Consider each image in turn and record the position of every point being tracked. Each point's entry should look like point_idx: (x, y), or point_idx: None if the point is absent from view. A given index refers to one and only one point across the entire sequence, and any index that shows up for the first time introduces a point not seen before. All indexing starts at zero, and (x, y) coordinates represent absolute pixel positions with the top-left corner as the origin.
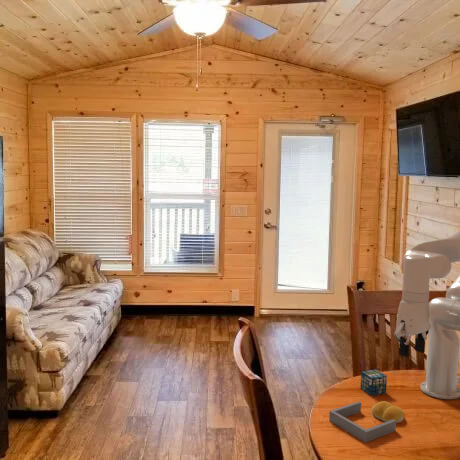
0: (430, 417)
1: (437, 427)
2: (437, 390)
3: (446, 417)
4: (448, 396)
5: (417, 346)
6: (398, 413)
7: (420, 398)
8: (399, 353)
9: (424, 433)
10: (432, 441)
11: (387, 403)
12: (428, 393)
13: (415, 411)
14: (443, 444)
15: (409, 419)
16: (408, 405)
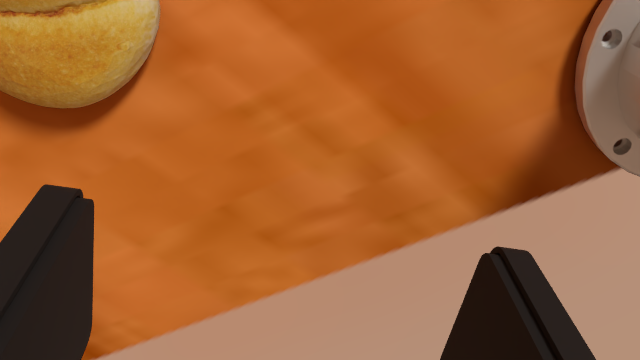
0: (279, 174)
1: (200, 244)
2: (628, 88)
3: (350, 226)
4: (604, 152)
5: (492, 348)
6: (33, 99)
7: (501, 9)
8: (39, 200)
9: None
10: None
11: None
12: (591, 31)
13: (282, 81)
14: None
15: (150, 108)
16: (330, 6)
